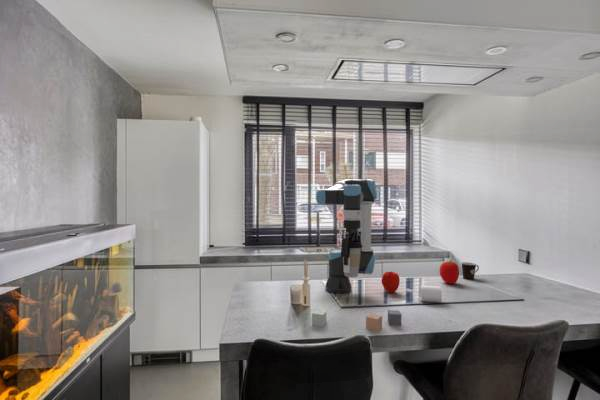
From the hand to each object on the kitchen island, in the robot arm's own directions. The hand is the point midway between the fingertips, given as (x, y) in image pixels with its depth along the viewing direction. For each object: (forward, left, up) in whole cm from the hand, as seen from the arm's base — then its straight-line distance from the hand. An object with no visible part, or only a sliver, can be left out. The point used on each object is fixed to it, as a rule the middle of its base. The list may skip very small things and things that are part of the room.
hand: (351, 270), depth 153 cm
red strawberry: (+20, +94, -22) cm, 99 cm away
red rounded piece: (-2, +52, -22) cm, 57 cm away
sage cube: (-9, -12, -22) cm, 27 cm away
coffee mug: (+29, +115, -22) cm, 121 cm away
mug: (+20, +51, -22) cm, 59 cm away
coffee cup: (0, 0, -2) cm, 2 cm away
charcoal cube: (+17, +8, -22) cm, 29 cm away
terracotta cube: (+12, -2, -22) cm, 25 cm away
